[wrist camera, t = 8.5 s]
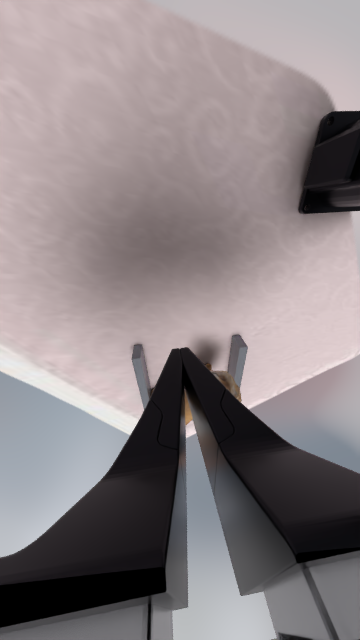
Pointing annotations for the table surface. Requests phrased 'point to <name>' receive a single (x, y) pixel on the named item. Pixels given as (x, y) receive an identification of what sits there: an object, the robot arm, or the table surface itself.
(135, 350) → the chassis bay
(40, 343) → the table surface
